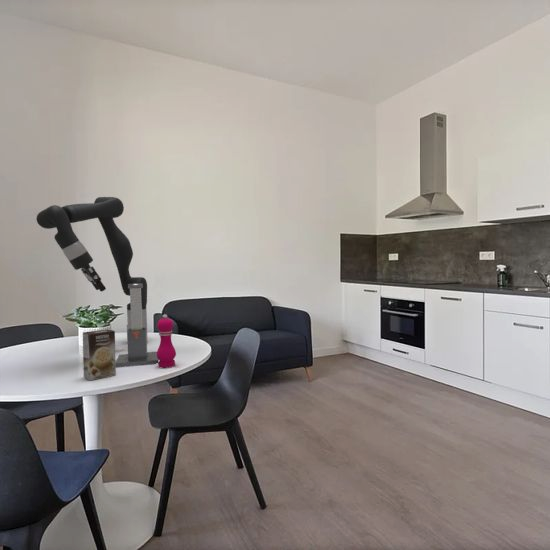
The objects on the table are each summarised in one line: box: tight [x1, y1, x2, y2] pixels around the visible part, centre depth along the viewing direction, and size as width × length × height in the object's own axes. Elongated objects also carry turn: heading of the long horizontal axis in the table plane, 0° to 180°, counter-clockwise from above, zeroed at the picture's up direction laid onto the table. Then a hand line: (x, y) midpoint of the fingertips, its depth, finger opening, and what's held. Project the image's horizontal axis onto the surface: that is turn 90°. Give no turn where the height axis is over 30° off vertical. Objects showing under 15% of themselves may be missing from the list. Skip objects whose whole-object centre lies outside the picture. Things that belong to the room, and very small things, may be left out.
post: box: [128, 284, 143, 331], centre depth 161 cm, size 6×6×24 cm
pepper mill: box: [156, 314, 177, 369], centre depth 152 cm, size 7×7×20 cm
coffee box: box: [82, 329, 117, 381], centre depth 140 cm, size 9×6×16 cm
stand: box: [116, 327, 159, 368], centre depth 162 cm, size 16×16×13 cm
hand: (101, 289), depth 158 cm, fingers open, 8 cm apart
